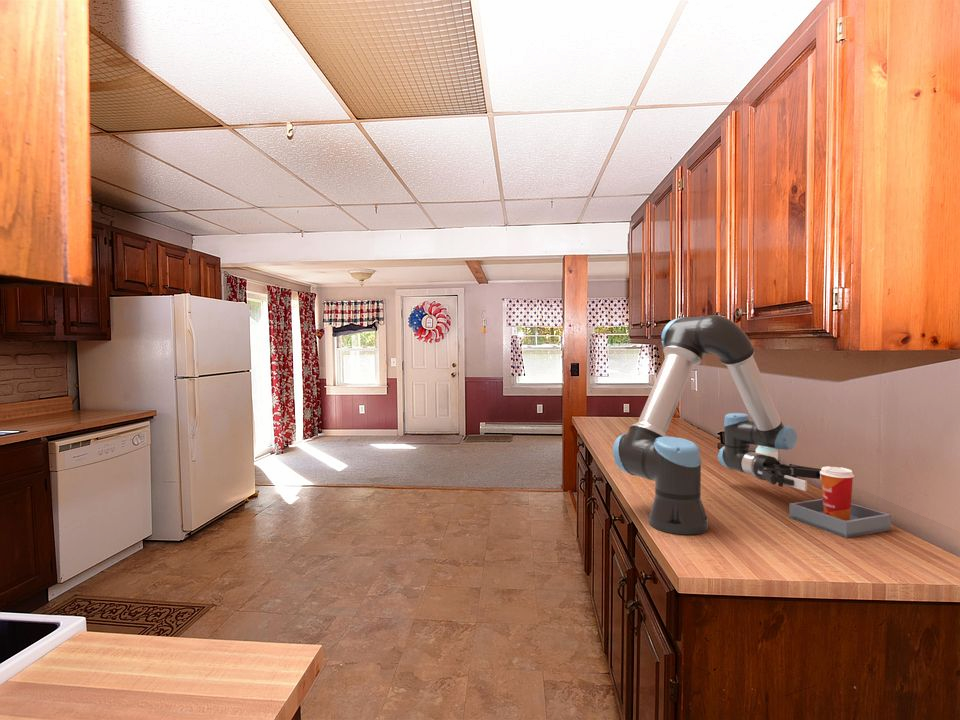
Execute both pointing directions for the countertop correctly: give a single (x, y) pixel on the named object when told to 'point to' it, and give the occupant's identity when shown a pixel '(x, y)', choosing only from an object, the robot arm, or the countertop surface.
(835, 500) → the paper cup
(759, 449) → the can
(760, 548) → the countertop surface
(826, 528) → the box
